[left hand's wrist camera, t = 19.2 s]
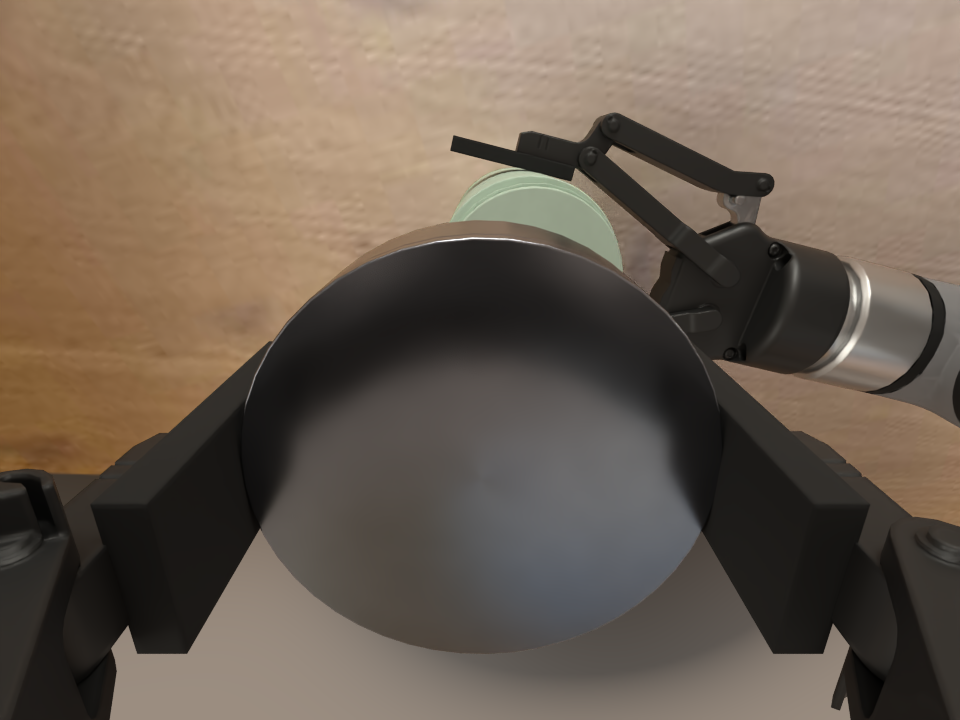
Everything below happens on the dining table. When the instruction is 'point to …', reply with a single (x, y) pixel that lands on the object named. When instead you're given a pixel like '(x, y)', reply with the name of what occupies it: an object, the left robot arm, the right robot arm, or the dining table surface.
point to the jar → (540, 208)
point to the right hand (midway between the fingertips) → (436, 225)
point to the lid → (481, 440)
